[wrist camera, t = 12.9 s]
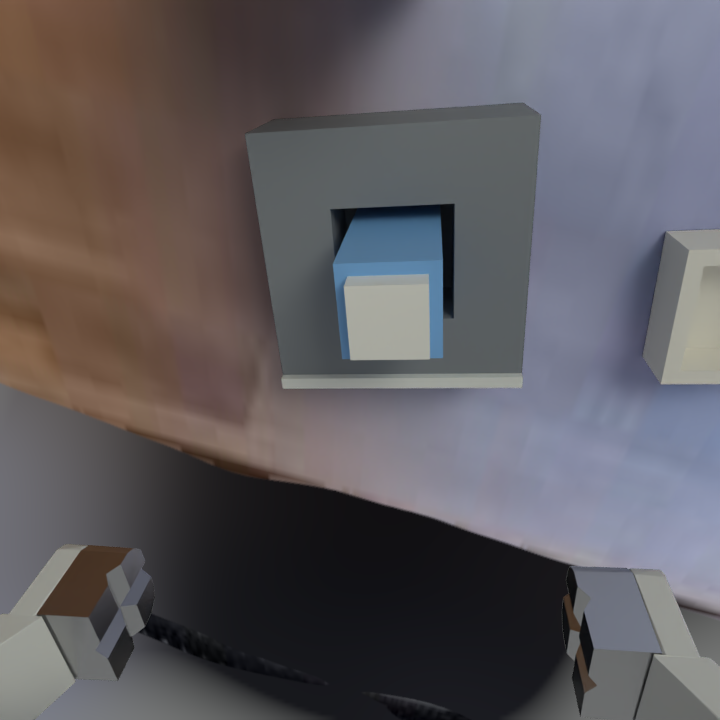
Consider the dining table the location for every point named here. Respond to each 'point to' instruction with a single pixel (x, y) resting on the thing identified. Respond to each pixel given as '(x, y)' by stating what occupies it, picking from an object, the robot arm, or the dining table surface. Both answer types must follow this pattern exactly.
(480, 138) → the port block
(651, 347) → the white square tray
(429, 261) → the plug
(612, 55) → the dining table surface
